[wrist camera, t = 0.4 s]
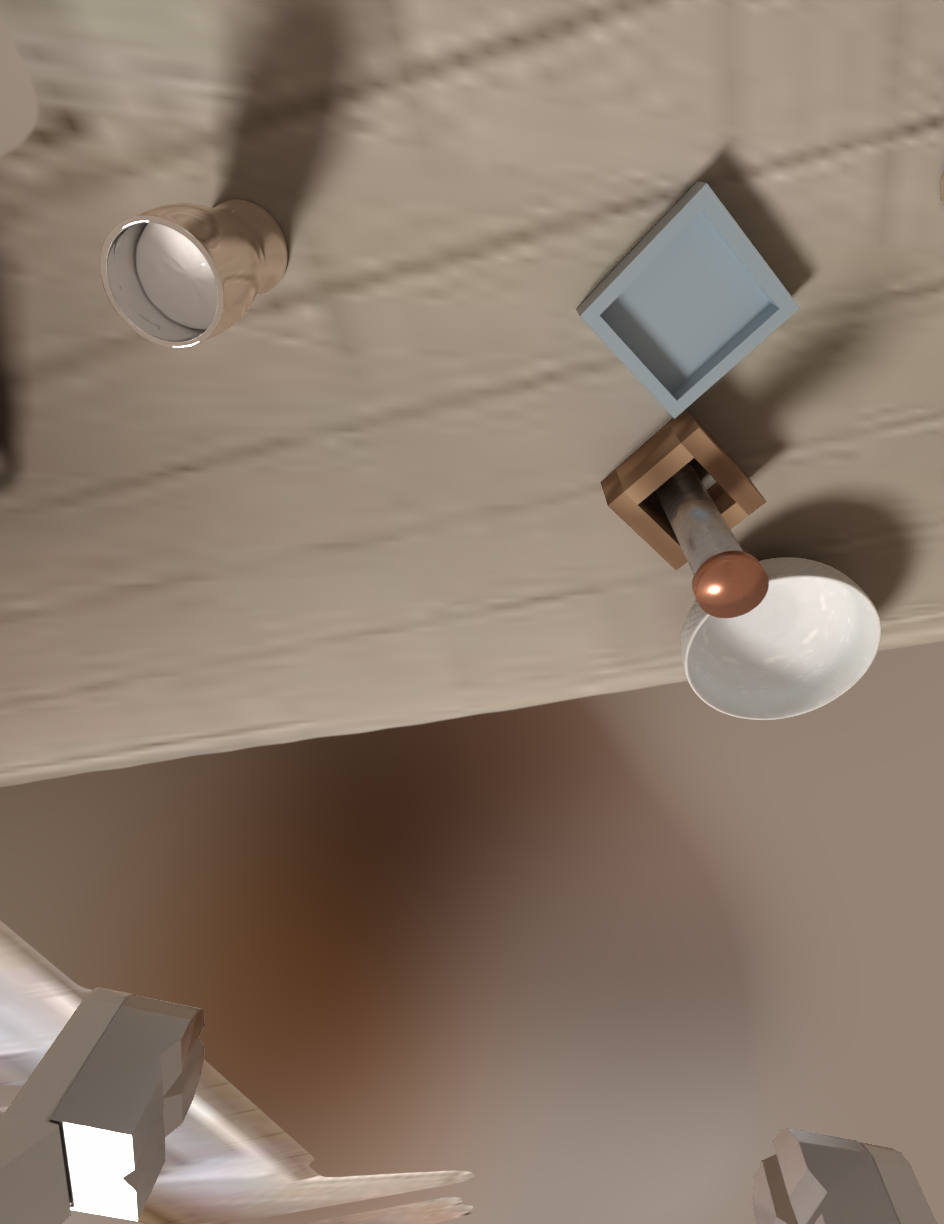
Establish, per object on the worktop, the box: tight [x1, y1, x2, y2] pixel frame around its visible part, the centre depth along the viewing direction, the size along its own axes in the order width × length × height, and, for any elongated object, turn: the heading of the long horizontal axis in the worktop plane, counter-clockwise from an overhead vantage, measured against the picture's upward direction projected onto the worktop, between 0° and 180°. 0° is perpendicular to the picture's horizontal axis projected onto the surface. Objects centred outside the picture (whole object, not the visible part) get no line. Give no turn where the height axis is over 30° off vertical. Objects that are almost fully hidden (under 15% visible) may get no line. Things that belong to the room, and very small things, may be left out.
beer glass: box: [100, 199, 288, 348], centre depth 42 cm, size 7×7×15 cm
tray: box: [576, 181, 800, 419], centre depth 49 cm, size 11×11×2 cm
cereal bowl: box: [681, 557, 881, 720], centre depth 63 cm, size 17×17×7 cm
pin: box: [655, 463, 769, 618], centre depth 51 cm, size 5×5×17 cm
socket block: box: [601, 409, 766, 570], centre depth 56 cm, size 9×9×4 cm
